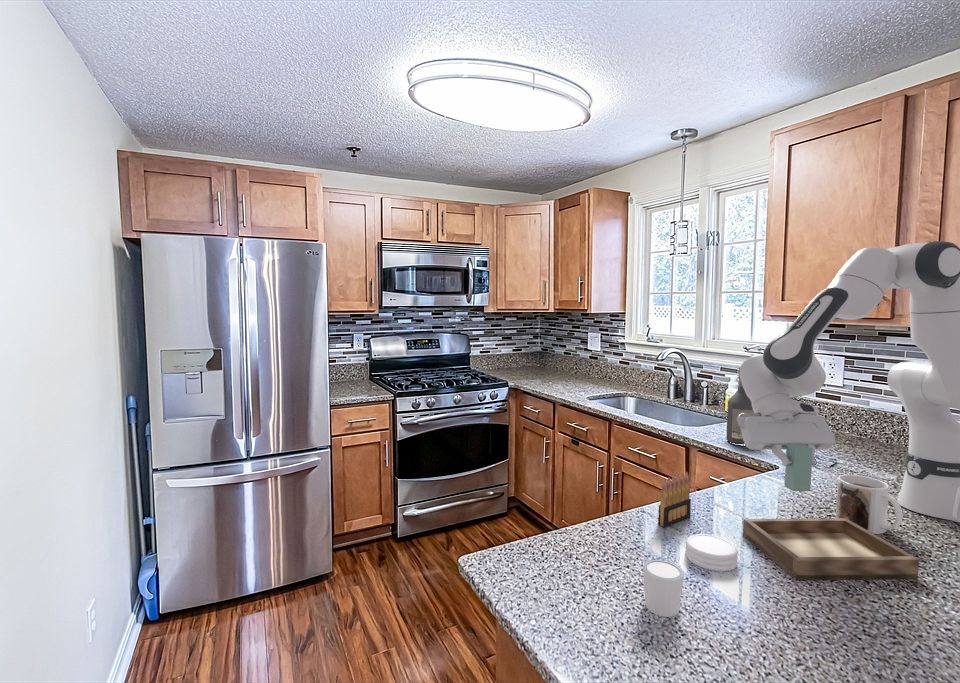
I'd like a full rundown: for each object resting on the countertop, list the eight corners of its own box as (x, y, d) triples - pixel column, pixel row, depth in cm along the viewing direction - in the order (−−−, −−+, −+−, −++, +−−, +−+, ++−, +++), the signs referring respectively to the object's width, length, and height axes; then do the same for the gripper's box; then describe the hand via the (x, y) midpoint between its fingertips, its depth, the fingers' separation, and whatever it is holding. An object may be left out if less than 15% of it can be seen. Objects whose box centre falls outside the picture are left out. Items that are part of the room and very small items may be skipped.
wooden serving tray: (844, 534, 113) (845, 518, 113) (917, 578, 95) (919, 559, 94) (742, 535, 112) (743, 519, 112) (796, 580, 94) (797, 560, 94)
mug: (878, 520, 121) (881, 477, 120) (902, 542, 109) (906, 494, 109) (829, 514, 124) (831, 472, 123) (847, 534, 113) (850, 489, 112)
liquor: (724, 439, 194) (727, 366, 192) (748, 440, 193) (751, 366, 191) (733, 446, 185) (736, 369, 183) (758, 447, 184) (761, 369, 182)
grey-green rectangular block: (801, 486, 113) (803, 444, 112) (810, 491, 110) (812, 448, 109) (784, 486, 113) (786, 444, 112) (792, 491, 110) (795, 448, 109)
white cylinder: (635, 596, 89) (636, 559, 88) (671, 594, 89) (672, 558, 89) (651, 620, 82) (653, 581, 81) (690, 618, 82) (691, 579, 82)
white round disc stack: (734, 578, 95) (735, 561, 95) (681, 563, 100) (681, 547, 100) (739, 556, 103) (740, 540, 103) (690, 544, 109) (690, 529, 108)
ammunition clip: (664, 528, 116) (665, 480, 115) (657, 525, 118) (659, 477, 117) (690, 518, 122) (692, 472, 121) (684, 515, 123) (685, 469, 123)
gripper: (739, 406, 117) (761, 458, 108) (823, 406, 117) (852, 458, 108) (729, 420, 121) (749, 470, 112) (809, 420, 122) (836, 470, 113)
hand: (800, 464), depth 110 cm, fingers closed on grey-green rectangular block, 4 cm apart
